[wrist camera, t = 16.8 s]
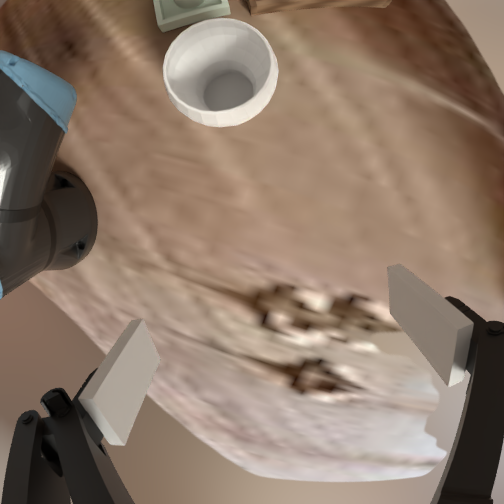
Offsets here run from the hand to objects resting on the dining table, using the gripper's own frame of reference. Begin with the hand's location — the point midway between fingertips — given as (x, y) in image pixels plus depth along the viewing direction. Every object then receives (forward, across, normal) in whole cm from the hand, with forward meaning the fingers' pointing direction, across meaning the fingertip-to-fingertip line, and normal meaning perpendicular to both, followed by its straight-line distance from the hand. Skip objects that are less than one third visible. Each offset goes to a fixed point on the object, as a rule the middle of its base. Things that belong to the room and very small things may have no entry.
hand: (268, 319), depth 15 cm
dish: (+27, -2, +35) cm, 44 cm away
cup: (+27, 0, +17) cm, 32 cm away
